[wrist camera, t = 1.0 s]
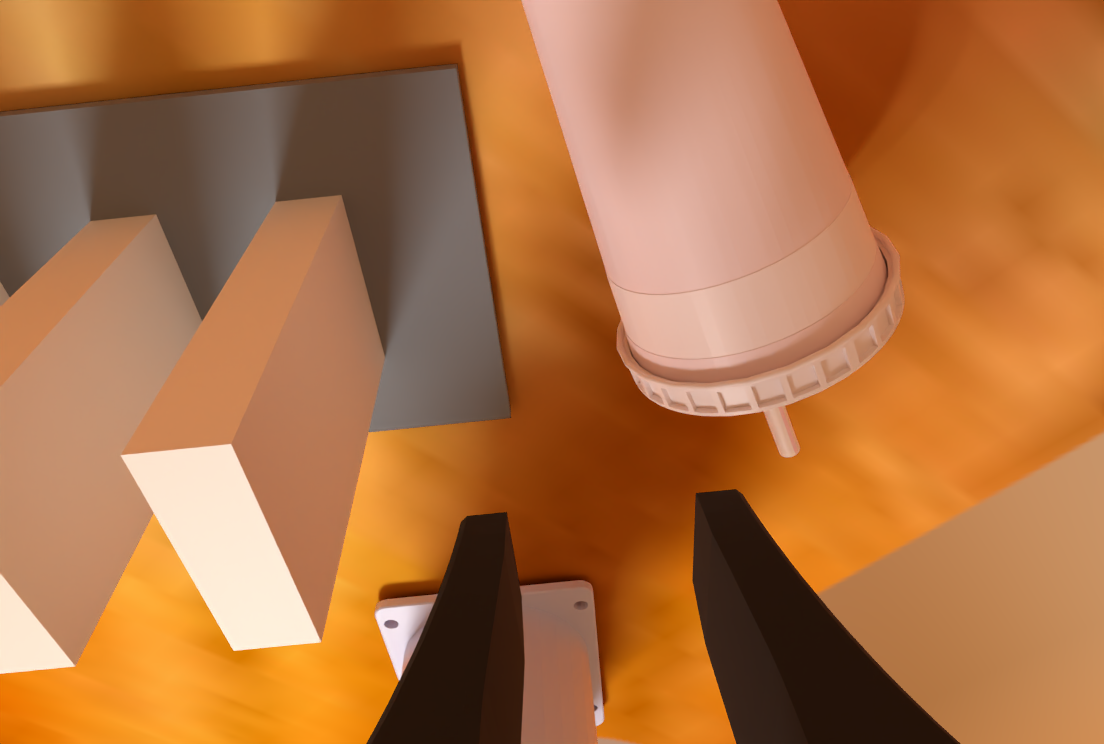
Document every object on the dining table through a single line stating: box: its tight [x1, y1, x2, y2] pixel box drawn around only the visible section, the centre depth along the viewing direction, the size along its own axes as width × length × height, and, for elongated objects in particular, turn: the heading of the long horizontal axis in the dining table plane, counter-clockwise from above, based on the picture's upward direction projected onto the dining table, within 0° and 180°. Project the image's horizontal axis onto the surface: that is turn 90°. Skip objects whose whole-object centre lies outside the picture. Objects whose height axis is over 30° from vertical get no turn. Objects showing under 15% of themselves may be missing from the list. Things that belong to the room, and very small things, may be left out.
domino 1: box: [0, 214, 202, 674], centre depth 16 cm, size 2×5×9 cm, turn 5°
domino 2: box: [121, 195, 385, 651], centre depth 16 cm, size 2×5×9 cm, turn 5°
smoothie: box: [521, 0, 904, 457], centre depth 16 cm, size 6×6×14 cm
